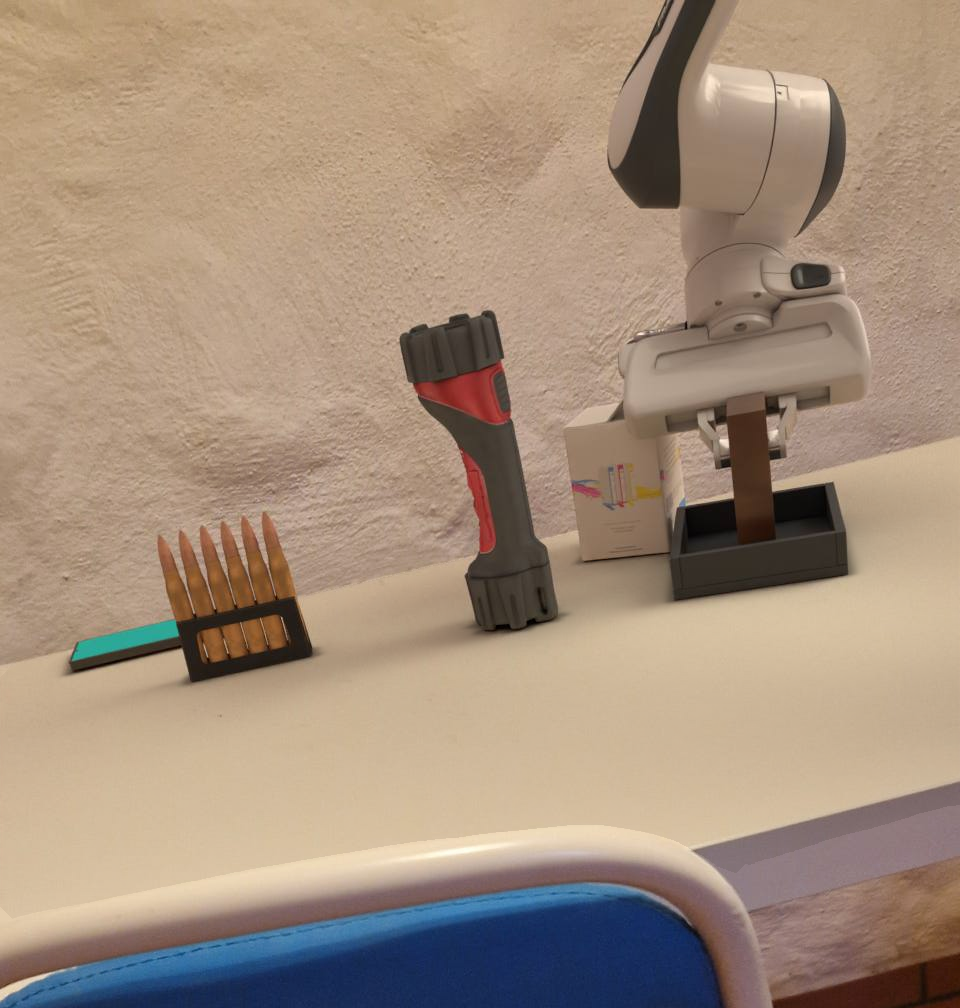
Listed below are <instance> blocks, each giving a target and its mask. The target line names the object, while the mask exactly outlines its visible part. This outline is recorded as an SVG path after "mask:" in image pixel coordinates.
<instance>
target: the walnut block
mask: <svg viewBox="0 0 960 1008" xmlns="http://www.w3.org/2000/svg"><path fill="white" fill-rule="evenodd" d="M726 419H727V424H726V428H727V438H728V440H729V451H730V461H731V467H730V471H731V481H732V491H733V498H734V503H735V514H736V524H737V535H738V545H746V544H752V543H759V542H765V541H771V540H776V532H775V519H774V507H773V494H772V492H773V483H772V471H771V460H770V457H769V445H768V433H767V431H768V421H767V417H766V408H765V398H764V392H758V393H753V394H747V395H742V396H736V397H731V398H727V408H726Z"/></svg>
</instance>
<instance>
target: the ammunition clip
mask: <svg viewBox="0 0 960 1008" xmlns="http://www.w3.org/2000/svg"><path fill="white" fill-rule="evenodd" d="M240 527H241V529H240V530H241V537H242V544H243V547H244V552H245V557H246V561H247V569H246V568H245V565H244V563H243V560H242V556H241V554H240V552H239V551H240V550H239V548H238V545H237V543H236V540H235V538H234V537H235V536H234V535H233V533H232V531H231V528H230V527H229V526H228V524H227V523H226V522H225V520H221V522H220V529H219V530H220V540H221V541H220V542H221V545H222V550H223V554H224V559H225V564H226V568H227V570H226V571H227V575H226V573H225V570H224V569H223V566H222V562H221V561H220V558H219V554H218V551H217V549H216V545H215V543H214V540H213V539H212V537H211V535H210V533H209V531H208V530H207V528H206V527H205V526H204V525H202V524H201V525H200V527H199V542H200V548H201V554H202V558H203V561H204V567H205V570H206V575H207V576H206V577H207V578H205V577H204V574H203V573H202V571H201V567H200V565H199V563H198V560H197V559H198V558H197V556H196V554H195V550H194V548H193V546H192V543H191V542H190V539H189V538H188V536H187V535H186V533H185V532H184V531H183V530H182V529H180V530H179V531H178V548H179V553H180V557H181V562H182V565H183V570H184V574H185V581H186V585H185V583H184V580H183V579H182V577H181V574H180V572H179V569H178V566H177V564H176V560H175V558H174V555H173V553H172V551H171V549H170V546H169V544H168V543H167V541H166V540H165V538H164V537H163V536H162V535H161V534H158V535H157V540H156V541H157V553H158V557H159V558H158V559H159V562H160V566H161V569H162V575H163V578H164V584H165V590H166V591H165V592H166V595H167V598H168V601H169V605H170V608H171V611H172V614H173V617H174V618H173V619H175V621H176V626H177V630H178V633H179V637H180V641H181V645H180V646H181V648H182V653H183V656H184V660H185V664H186V668H187V670H188V674H189V680H190V682H192V683H193V682H198V681H202V680H207V679H211V678H217V677H221V676H226V675H231V674H235V673H240V672H244V671H248V670H253V669H257V668H261V667H262V668H263V667H267V666H272V665H276V664H282V663H285V662H290V661H295V660H300V659H304V658H308V657H311V656H312V655H313V650H314V647H313V644H312V641H311V638H310V635H309V632H308V629H307V625H306V622H305V619H304V616H303V613H302V609H301V606H300V603H299V599H298V596H297V593H296V589H295V585H294V581H293V577H292V573H291V570H290V566H289V563H288V561H287V558H286V556H285V553H284V552H283V548H282V545H281V541H280V539H279V536H278V532H277V529H276V527H275V525H274V523H273V521H272V519H271V517H270V515H269V514H268V512H267V511H265V510H264V511H262V514H261V528H262V536H263V541H264V545H265V550H266V555H267V561H268V566H267V564H266V562H265V559H264V557H263V554H262V551H261V549H260V546H259V542H258V539H257V537H256V534H255V531H254V529H253V526H252V525H251V523H250V522H249V520H248V518H247V517H246V516H245V515H242V516H241V521H240ZM247 571H248V572H247ZM206 579H207V581H206ZM186 587H187V588H186ZM208 587H209V588H208ZM187 590H188V591H187ZM210 593H211V594H210ZM190 600H191V601H190ZM220 627H221V629H222V632H223V635H222V633H221V630H220ZM200 631H201V635H202V638H203V640H202V639H201V636H200V633H199V632H200Z"/></svg>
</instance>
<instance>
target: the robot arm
mask: <svg viewBox="0 0 960 1008" xmlns="http://www.w3.org/2000/svg"><path fill="white" fill-rule="evenodd" d="M739 2H740V0H664V3H663V5H662V7H661V10H660V12H659V14H658V16H657V19H656V21H655V23H654V25H653V28H652V30H651V32H650V34H649V37H648V38H647V41H645V44H644V46H643V48H642V49H641V51H640V54H639V55H638V56H637V58H636V60H635V61H634V63H633V65H632V66H631V69H630V70H629V72H628V73H627V75H626V77H625V79H624V82H623V84H622V86H621V88H620V90H619V93H618V95H617V99H616V100H615V103H614V106H613V110H612V113H611V117H610V120H609V127H608V134H607V149H606V150H607V152H606V154H607V158H606V159H607V165H608V169H609V171H610V173H611V175H612V177H613V179H614V180H615V181H616V183H617V184H618V187H620V189H621V191H623V192H624V194H625V195H626V196H627V197H628V198H629V200H630V201H632V203H633V204H634V205H635V206H637V208H638V209H639V210H640V209H641V210H642V209H644V210H645V209H648V210H678V209H679V231H680V247H681V252H682V256H683V259H684V261H685V263H686V266H687V268H686V272H685V277H684V285H683V286H684V288H683V290H684V303H685V317H686V320H685V321H683V322H678V323H673V324H669V325H665V326H662V327H658V328H655V329H642V330H639V331H637V332H634V333H633V337H631V338H629V339H627V340H626V341H625V342H623V343H622V345H620V347H619V350H618V353H617V366H618V367H617V368H618V374H619V376H621V378H622V379H623V395H622V396H623V398H622V399H623V408H624V416H625V421H626V425H627V429H628V431H629V432H630V433H631V434H632V435H633V436H634V437H635V438H637V439H639V440H642V439H648V438H654V437H659V436H665V435H670V434H676V433H678V434H680V433H681V434H682V433H687V432H692V431H697V430H698V433H699V439H700V440H701V441H702V443H704V445H705V446H706V447H707V448H708V450H709V451H710V452H711V453H712V454H713V460H714V468H715V471H717V470H718V471H719V470H722V469H723V470H724V469H729V468H731V461H730V451H729V440H728V437H725V438H721V437H720V436H719V434H718V433H717V427H719V426H727V419H726V408H727V398H731V397H736V396H742V395H747V394H753V393H758V392H764V398H765V408H766V418H770V417H776V416H779V423H778V425H777V426H776V429H772V430H771V429H770V430H767V433H768V445H769V457H770V461H777V460H782V459H787V458H788V457H787V456H788V454H787V453H788V452H787V441H788V439H789V437H790V436H791V434H792V432H793V430H794V428H795V426H796V425H797V423H798V412H803V411H810V410H815V409H820V408H825V407H831V406H836V405H843V404H849V403H854V402H860V401H861V400H863V399H864V398H865V397H866V396H867V393H869V391H870V390H871V387H872V380H873V365H872V354H871V349H870V342H869V339H868V334H867V330H866V325H865V323H864V320H863V317H862V313H861V311H860V309H859V306H858V305H857V304H856V302H855V301H854V300H853V299H852V298H851V297H849V292H848V283H847V276H846V272H845V268H844V267H843V266H842V265H840V264H838V263H832V262H831V263H830V262H815V261H804V260H797V259H791V258H787V255H786V254H787V246H788V243H789V241H790V239H792V238H794V239H795V238H797V237H798V236H799V235H801V234H802V233H803V232H804V231H805V230H806V229H807V228H808V227H809V226H810V225H811V223H813V222H814V220H815V219H816V218H817V217H818V216H819V215H820V213H822V211H823V210H824V209H825V208H826V207H827V206H828V204H829V203H830V202H831V200H832V199H833V196H834V195H835V193H836V191H837V188H838V186H839V184H840V182H841V179H842V176H843V172H844V168H845V162H846V153H847V151H846V150H847V130H846V129H847V128H846V120H845V117H844V113H843V109H842V107H841V103H840V100H839V98H838V96H837V94H836V92H835V90H834V89H833V87H832V86H831V84H830V82H828V81H827V79H825V78H819V77H815V76H811V75H807V74H805V75H804V74H800V73H794V72H787V71H779V70H772V69H764V70H762V69H754V68H746V67H739V66H732V65H726V64H717V63H711V60H712V59H713V56H714V54H715V52H716V50H717V48H718V46H719V44H720V41H721V39H722V37H723V35H724V33H725V31H726V29H727V28H728V25H729V23H730V21H731V19H732V16H733V14H734V12H735V10H736V8H737V6H738V4H739Z"/></svg>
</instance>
